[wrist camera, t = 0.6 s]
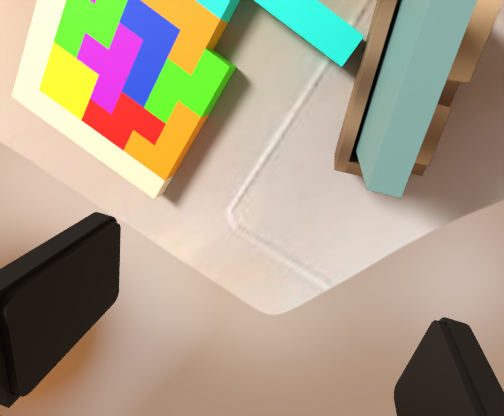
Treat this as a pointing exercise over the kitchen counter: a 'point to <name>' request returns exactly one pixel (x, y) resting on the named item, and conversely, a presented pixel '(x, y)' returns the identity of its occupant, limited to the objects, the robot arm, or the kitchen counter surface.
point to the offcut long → (474, 40)
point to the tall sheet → (408, 88)
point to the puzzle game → (145, 73)
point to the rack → (372, 51)
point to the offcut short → (433, 134)
